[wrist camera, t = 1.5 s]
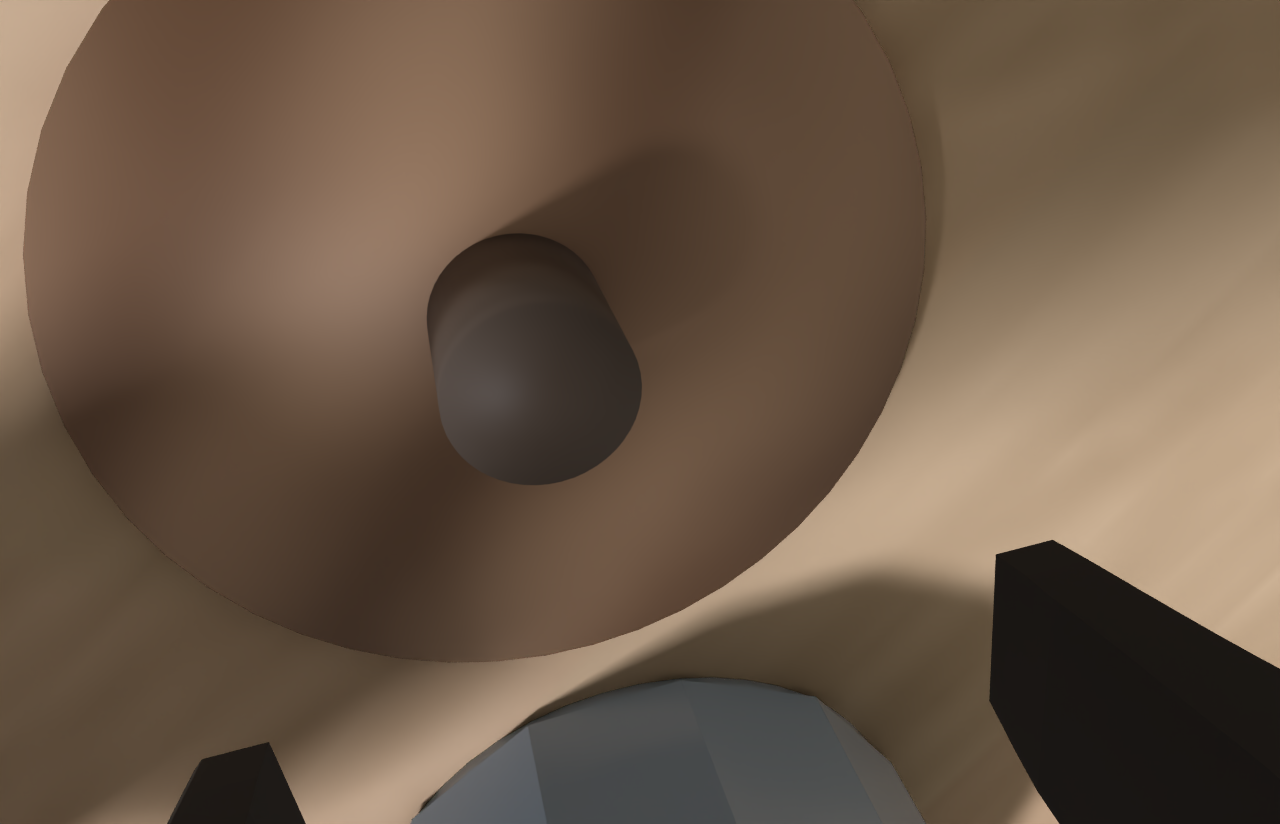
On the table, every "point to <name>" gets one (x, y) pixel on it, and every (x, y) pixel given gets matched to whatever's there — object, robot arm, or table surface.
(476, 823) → the bowl
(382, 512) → the lid
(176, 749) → the table surface
